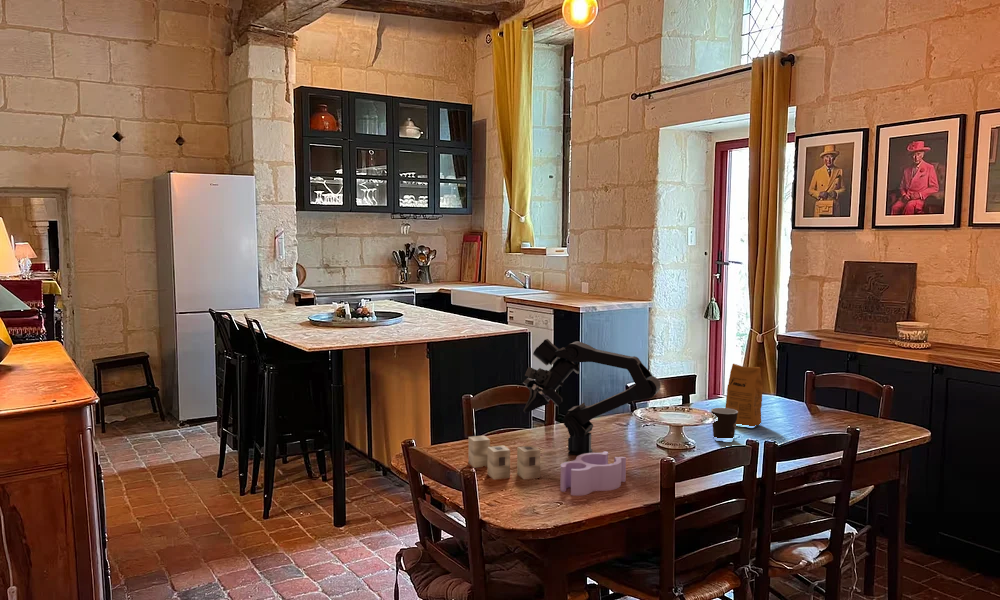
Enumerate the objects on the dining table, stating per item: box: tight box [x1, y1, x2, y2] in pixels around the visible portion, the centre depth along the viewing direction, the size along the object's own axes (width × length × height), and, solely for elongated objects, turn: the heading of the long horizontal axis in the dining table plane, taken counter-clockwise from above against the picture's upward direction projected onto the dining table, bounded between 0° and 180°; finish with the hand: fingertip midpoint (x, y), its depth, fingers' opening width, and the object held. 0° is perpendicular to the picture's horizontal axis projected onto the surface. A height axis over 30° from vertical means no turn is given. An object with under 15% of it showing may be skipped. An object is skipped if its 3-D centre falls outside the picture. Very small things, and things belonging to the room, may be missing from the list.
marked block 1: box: [486, 445, 511, 480], centre depth 212 cm, size 5×5×8 cm
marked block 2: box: [516, 444, 541, 480], centre depth 212 cm, size 5×5×8 cm
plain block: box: [467, 435, 491, 469], centre depth 222 cm, size 5×5×8 cm
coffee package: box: [724, 363, 764, 426], centre depth 269 cm, size 10×12×22 cm
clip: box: [559, 451, 627, 497], centre depth 204 cm, size 20×12×7 cm, turn 131°
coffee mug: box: [710, 407, 738, 438], centre depth 251 cm, size 12×9×10 cm
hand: (524, 411), depth 231 cm, fingers closed
